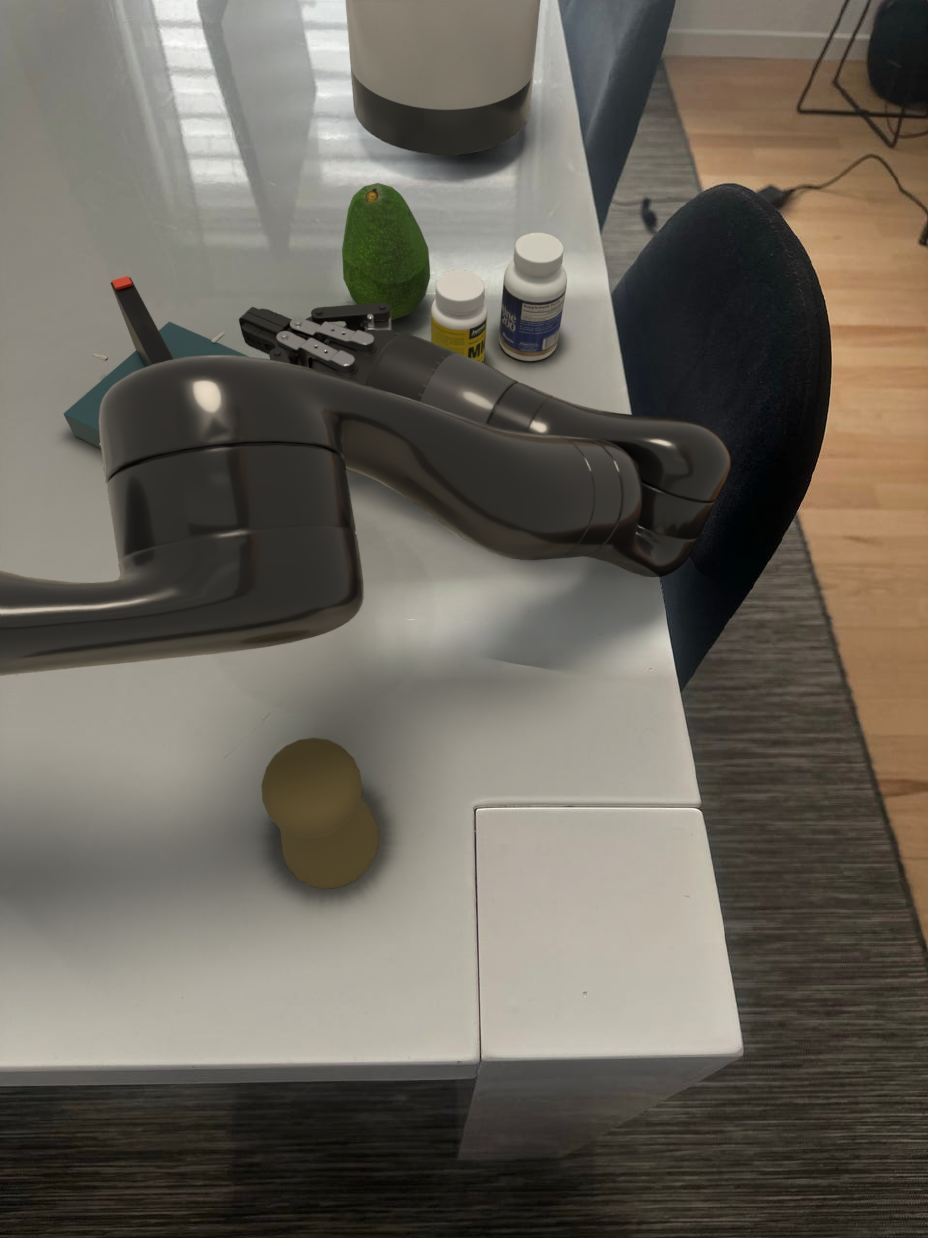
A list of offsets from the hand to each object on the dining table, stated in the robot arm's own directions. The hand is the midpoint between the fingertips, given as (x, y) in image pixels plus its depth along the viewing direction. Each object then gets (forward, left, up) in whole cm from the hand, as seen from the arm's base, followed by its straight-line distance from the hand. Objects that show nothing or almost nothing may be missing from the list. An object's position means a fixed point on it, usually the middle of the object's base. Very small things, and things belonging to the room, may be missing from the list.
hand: (246, 322), depth 63 cm
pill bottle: (+19, -15, -9) cm, 26 cm away
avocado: (+16, -2, -9) cm, 18 cm away
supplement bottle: (+13, -11, -9) cm, 19 cm away
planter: (+45, +9, -9) cm, 47 cm away
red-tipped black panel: (-4, +7, -6) cm, 10 cm away
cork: (-28, -25, -9) cm, 39 cm away
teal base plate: (-4, +7, -9) cm, 12 cm away
